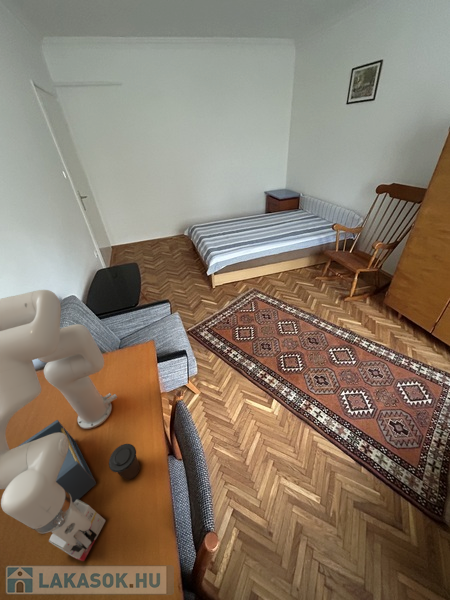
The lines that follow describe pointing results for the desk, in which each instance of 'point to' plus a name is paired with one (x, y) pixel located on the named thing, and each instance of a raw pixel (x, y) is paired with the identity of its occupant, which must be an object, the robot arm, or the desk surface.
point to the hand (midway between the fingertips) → (83, 532)
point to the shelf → (70, 464)
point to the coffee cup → (124, 461)
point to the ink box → (96, 527)
